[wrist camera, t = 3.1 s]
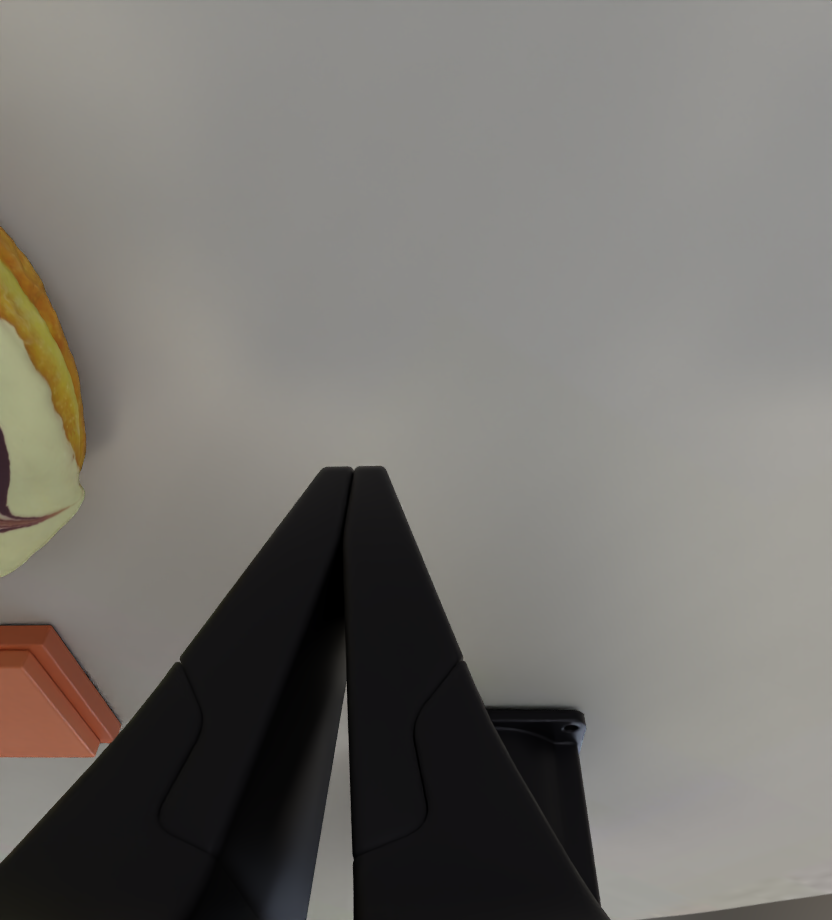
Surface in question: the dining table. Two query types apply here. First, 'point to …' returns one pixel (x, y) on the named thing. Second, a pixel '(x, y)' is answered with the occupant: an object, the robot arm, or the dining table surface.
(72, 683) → the orange flat bar
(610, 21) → the dining table surface
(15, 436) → the decorated donut
